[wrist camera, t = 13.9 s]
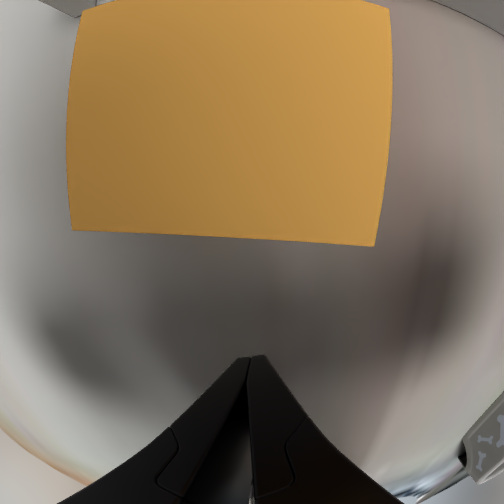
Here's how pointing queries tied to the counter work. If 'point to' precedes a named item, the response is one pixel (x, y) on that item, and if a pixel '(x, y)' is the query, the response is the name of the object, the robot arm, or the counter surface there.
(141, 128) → the mustard yellow box
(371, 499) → the robot arm
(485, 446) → the dog bowl
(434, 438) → the counter surface
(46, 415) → the counter surface
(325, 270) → the counter surface
